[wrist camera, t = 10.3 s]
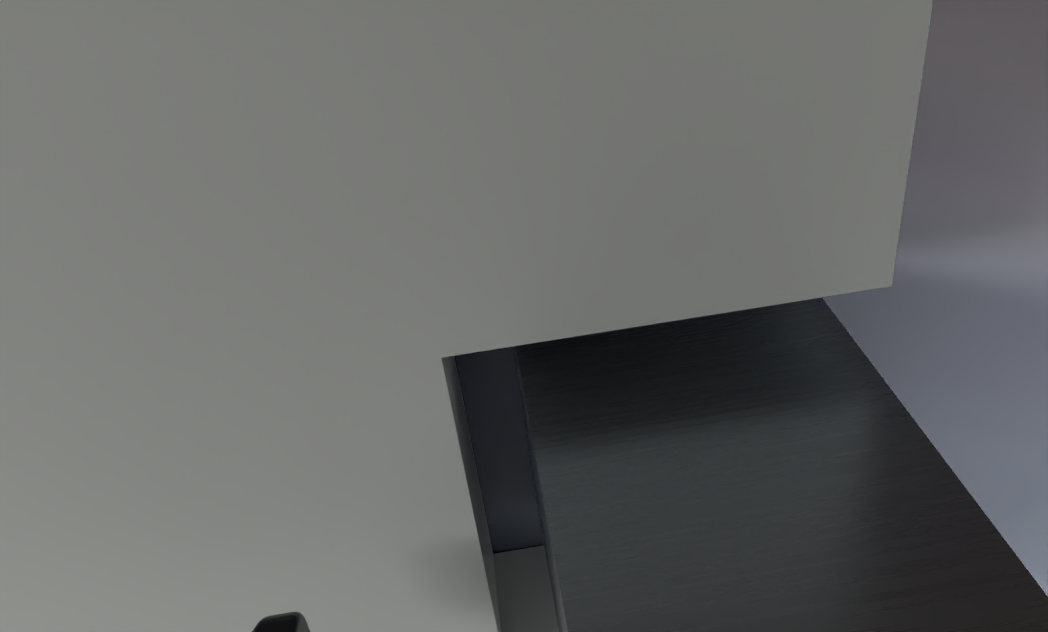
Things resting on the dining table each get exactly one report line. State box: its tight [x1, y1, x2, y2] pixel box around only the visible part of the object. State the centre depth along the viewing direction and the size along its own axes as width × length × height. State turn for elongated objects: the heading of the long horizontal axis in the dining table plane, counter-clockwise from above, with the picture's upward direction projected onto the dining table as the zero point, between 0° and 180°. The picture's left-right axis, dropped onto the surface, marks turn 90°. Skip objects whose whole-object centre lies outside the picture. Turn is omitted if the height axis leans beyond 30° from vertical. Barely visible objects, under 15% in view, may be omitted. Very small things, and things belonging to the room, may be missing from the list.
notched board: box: [0, 0, 933, 632], centre depth 11 cm, size 14×14×2 cm
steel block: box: [514, 297, 1048, 632], centre depth 10 cm, size 4×4×6 cm
